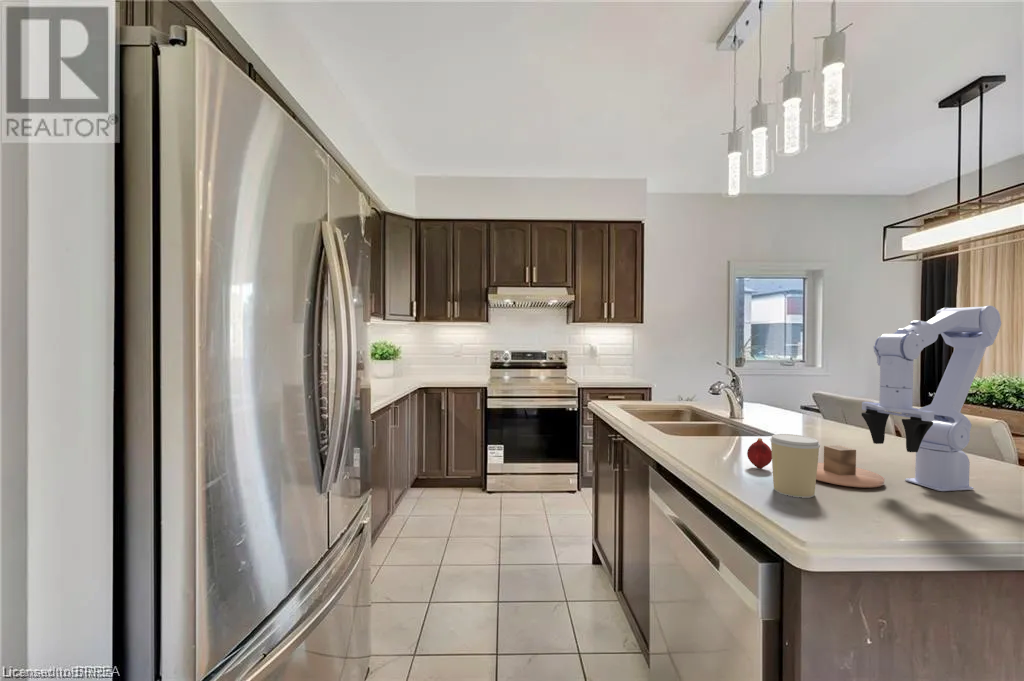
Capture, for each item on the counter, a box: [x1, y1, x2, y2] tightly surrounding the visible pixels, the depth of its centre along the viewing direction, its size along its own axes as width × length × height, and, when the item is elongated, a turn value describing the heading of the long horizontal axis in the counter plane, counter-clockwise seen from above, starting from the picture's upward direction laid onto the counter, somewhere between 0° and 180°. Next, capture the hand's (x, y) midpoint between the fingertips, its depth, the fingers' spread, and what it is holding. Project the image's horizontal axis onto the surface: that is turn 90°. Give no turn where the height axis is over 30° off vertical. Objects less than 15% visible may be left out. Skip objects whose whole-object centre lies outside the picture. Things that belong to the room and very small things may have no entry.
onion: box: [746, 437, 772, 470], centre depth 118 cm, size 6×6×8 cm
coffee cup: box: [770, 433, 821, 499], centre depth 101 cm, size 9×9×12 cm
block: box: [823, 445, 857, 475], centre depth 111 cm, size 4×4×6 cm
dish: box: [816, 462, 885, 488], centre depth 111 cm, size 17×17×2 cm
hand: (894, 447), depth 102 cm, fingers open, 7 cm apart
